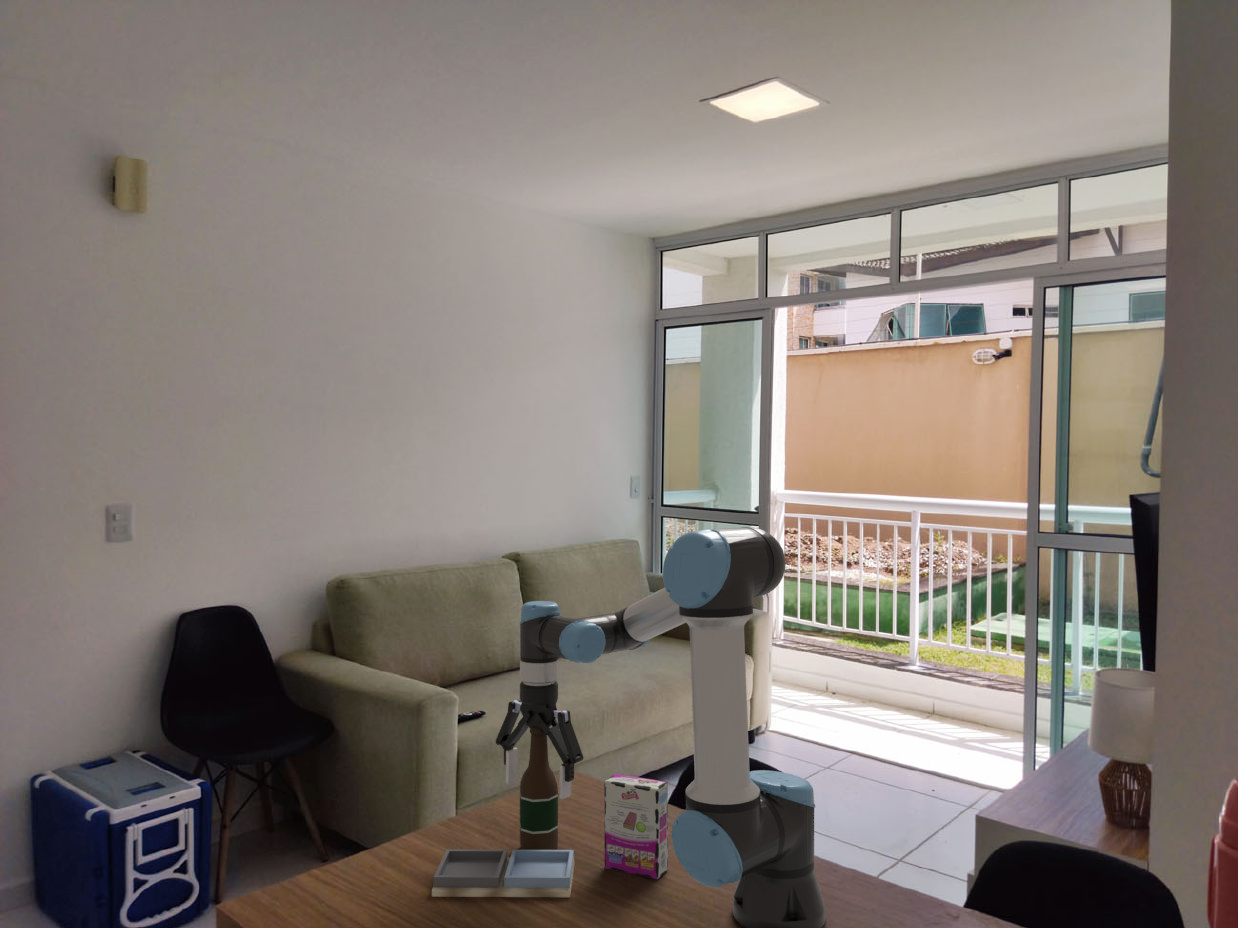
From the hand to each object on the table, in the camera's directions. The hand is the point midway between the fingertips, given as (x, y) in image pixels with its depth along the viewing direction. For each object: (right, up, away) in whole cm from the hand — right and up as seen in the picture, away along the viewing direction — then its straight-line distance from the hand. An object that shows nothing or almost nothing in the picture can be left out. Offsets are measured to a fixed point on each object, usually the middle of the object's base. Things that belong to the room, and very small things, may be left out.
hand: (537, 789), depth 173 cm
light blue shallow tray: (+2, -10, -13) cm, 17 cm away
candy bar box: (+19, -12, -9) cm, 24 cm away
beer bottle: (0, -12, 0) cm, 12 cm away
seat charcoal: (-11, -10, -13) cm, 20 cm away
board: (-5, -11, -13) cm, 18 cm away
